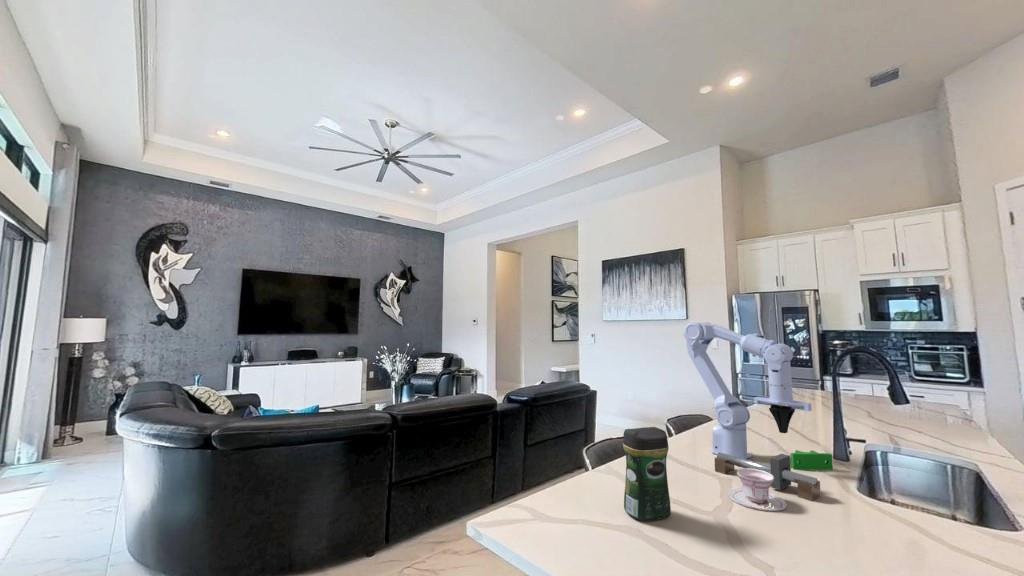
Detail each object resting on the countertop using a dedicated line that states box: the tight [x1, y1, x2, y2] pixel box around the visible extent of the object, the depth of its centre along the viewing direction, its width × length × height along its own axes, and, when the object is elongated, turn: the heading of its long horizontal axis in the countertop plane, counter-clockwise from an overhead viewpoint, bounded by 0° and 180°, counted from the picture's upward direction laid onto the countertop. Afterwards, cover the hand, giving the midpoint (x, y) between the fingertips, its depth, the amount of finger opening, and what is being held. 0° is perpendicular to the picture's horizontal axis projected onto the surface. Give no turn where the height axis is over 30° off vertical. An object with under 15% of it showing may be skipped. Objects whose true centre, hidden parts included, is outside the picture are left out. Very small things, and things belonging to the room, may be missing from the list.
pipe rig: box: [714, 452, 822, 502], centre depth 112 cm, size 24×5×5 cm, turn 35°
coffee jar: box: [622, 426, 672, 522], centre depth 94 cm, size 10×8×19 cm
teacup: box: [728, 468, 788, 512], centre depth 101 cm, size 12×12×6 cm
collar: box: [769, 453, 792, 491], centre depth 108 cm, size 2×6×7 cm, turn 125°
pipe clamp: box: [790, 449, 834, 471], centre depth 124 cm, size 11×4×5 cm, turn 89°
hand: (783, 432), depth 123 cm, fingers closed
